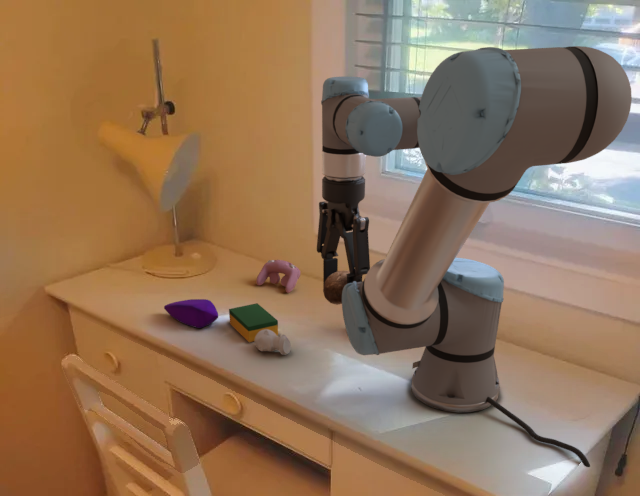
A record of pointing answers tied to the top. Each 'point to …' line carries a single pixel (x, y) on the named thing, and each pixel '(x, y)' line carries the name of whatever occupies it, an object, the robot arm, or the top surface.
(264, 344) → the smooth white sculpture
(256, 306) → the sponge
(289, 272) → the video game controller
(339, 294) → the brown round lump
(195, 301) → the purple rounded wedge
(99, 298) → the top surface
